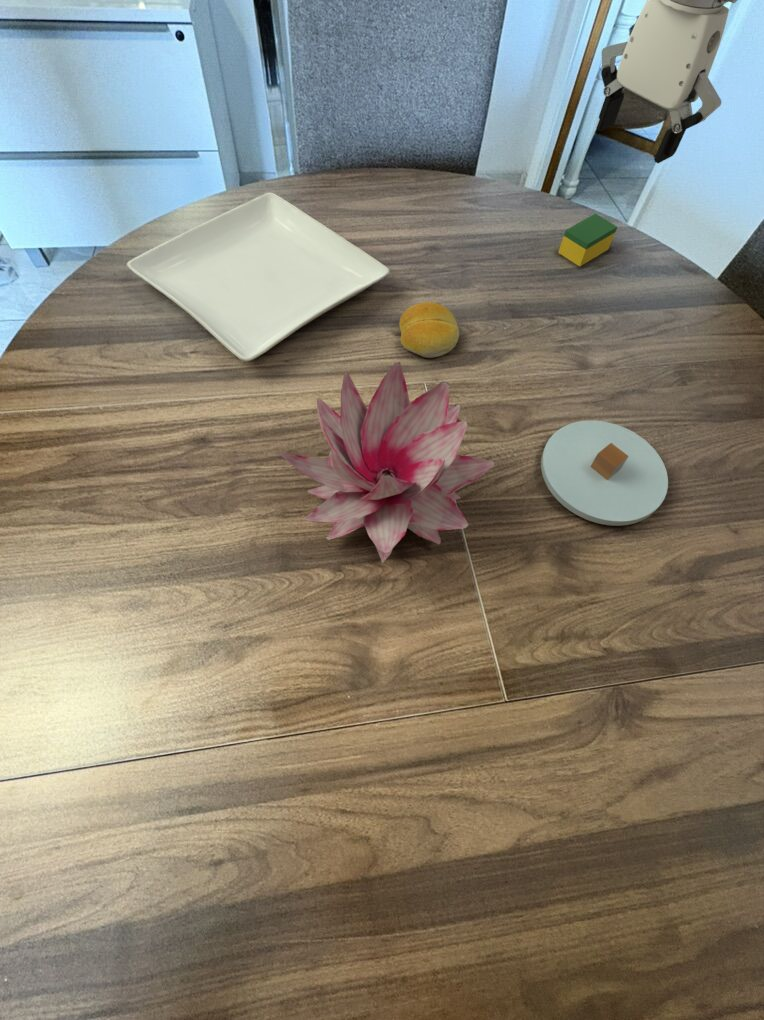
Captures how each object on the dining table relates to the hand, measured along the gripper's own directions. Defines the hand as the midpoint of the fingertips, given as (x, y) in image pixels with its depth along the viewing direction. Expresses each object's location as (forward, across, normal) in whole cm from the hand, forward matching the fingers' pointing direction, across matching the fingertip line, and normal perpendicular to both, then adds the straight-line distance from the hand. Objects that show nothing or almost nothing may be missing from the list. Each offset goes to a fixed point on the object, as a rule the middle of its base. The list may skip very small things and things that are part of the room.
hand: (632, 143), depth 83 cm
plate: (+18, -29, +33) cm, 47 cm away
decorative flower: (+18, -15, +56) cm, 60 cm away
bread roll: (+18, +2, +33) cm, 38 cm away
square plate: (+19, +25, +45) cm, 55 cm away
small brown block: (+16, -29, +33) cm, 46 cm away
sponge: (+18, +2, -1) cm, 18 cm away
